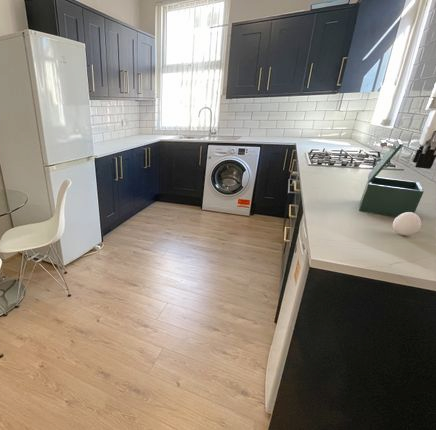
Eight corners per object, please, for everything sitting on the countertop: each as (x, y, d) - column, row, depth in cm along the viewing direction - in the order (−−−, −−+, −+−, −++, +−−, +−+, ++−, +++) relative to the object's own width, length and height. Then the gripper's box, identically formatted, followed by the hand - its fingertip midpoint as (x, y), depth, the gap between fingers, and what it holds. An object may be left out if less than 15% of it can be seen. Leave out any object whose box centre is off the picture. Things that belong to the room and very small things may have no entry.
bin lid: (400, 140, 107) (384, 135, 109) (403, 144, 96) (386, 138, 98) (370, 175, 115) (356, 169, 118) (370, 183, 104) (354, 176, 107)
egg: (384, 232, 91) (393, 210, 88) (396, 229, 93) (405, 208, 90) (408, 240, 86) (418, 217, 83) (420, 237, 87) (430, 214, 85)
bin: (407, 208, 111) (418, 182, 107) (411, 220, 100) (423, 191, 96) (360, 200, 120) (369, 176, 116) (358, 210, 109) (368, 183, 105)
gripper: (474, 105, 70) (443, 172, 76) (460, 104, 82) (435, 162, 88) (430, 104, 74) (405, 168, 81) (424, 104, 86) (402, 159, 93)
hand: (421, 165), depth 85 cm, fingers open, 9 cm apart
